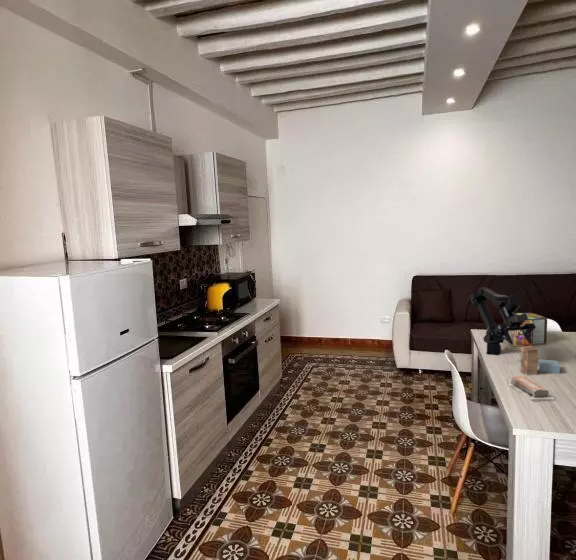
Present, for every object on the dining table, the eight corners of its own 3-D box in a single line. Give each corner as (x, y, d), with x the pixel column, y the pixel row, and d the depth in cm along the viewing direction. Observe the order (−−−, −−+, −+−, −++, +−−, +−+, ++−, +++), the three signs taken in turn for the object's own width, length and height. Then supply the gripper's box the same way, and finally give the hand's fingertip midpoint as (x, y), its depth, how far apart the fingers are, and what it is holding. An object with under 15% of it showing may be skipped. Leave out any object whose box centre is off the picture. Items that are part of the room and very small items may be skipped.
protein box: (530, 336, 261) (531, 312, 259) (546, 343, 246) (547, 317, 244) (514, 337, 261) (515, 313, 259) (529, 344, 246) (530, 318, 243)
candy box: (514, 346, 243) (515, 321, 240) (512, 344, 247) (513, 319, 245) (531, 347, 240) (532, 321, 238) (530, 345, 244) (530, 319, 242)
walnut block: (520, 371, 204) (521, 346, 202) (530, 371, 204) (531, 346, 202) (526, 375, 199) (527, 349, 197) (537, 374, 199) (538, 349, 197)
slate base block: (540, 372, 203) (540, 364, 202) (538, 366, 210) (538, 359, 209) (559, 374, 199) (559, 366, 199) (557, 368, 206) (557, 360, 206)
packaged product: (506, 375, 188) (528, 374, 188) (506, 386, 188) (527, 384, 189) (531, 391, 170) (555, 390, 170) (531, 402, 171) (555, 401, 171)
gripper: (497, 309, 209) (509, 336, 199) (534, 307, 210) (547, 334, 200) (489, 321, 218) (500, 347, 208) (524, 319, 219) (536, 345, 209)
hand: (521, 343), depth 206 cm, fingers open, 9 cm apart
